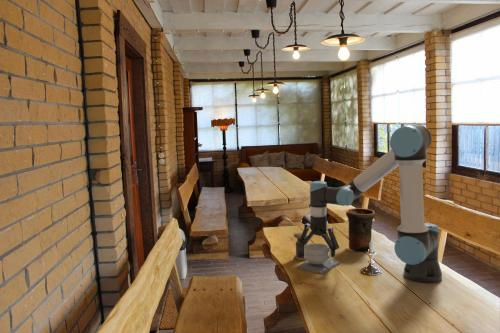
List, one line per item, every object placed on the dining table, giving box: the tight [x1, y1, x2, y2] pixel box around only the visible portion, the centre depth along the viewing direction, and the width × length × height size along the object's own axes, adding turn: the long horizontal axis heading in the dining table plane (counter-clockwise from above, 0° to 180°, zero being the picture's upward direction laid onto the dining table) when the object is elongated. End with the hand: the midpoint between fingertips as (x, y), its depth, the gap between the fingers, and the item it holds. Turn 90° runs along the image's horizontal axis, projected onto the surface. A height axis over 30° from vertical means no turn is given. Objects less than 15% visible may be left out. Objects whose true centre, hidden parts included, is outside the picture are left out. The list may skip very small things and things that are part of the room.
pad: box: [296, 259, 340, 275], centre depth 197 cm, size 13×16×1 cm
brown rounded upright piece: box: [293, 232, 309, 262], centre depth 207 cm, size 7×7×12 cm
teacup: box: [305, 243, 337, 264], centre depth 196 cm, size 14×11×8 cm
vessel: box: [345, 207, 376, 253], centre depth 220 cm, size 14×14×20 cm
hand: (318, 260), depth 197 cm, fingers closed on teacup, 12 cm apart
